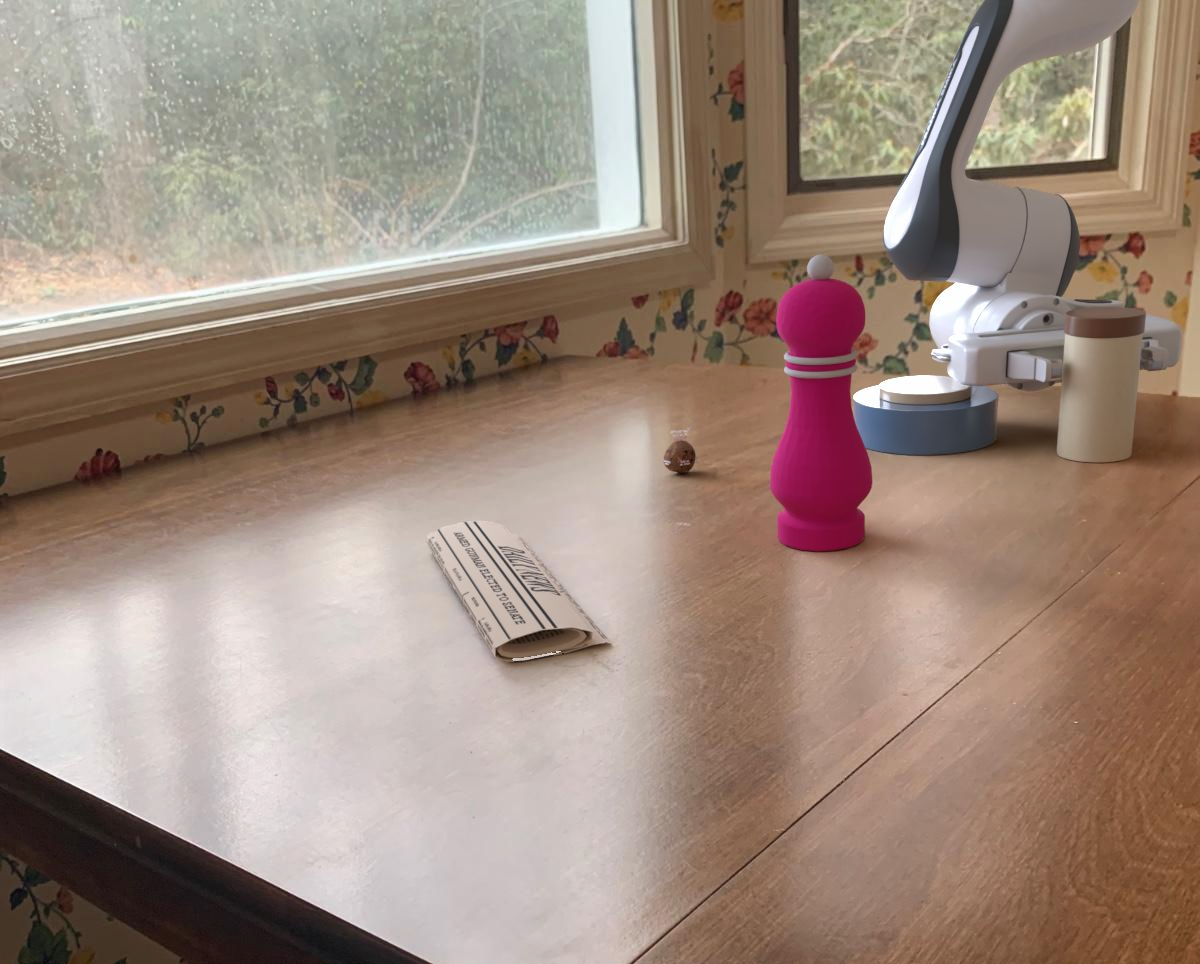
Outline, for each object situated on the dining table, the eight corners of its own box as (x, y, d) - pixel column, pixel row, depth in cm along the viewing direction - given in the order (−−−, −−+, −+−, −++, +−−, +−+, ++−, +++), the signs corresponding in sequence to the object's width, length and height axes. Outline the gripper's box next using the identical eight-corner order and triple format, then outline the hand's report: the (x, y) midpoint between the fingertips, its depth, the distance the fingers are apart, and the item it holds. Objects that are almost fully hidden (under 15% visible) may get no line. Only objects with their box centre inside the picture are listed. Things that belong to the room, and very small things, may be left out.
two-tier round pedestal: (960, 416, 120) (962, 366, 118) (1021, 446, 108) (1024, 391, 106) (834, 429, 119) (834, 378, 117) (881, 461, 107) (882, 405, 105)
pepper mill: (826, 561, 84) (826, 262, 76) (750, 540, 89) (743, 259, 82) (892, 535, 88) (898, 250, 80) (816, 516, 93) (815, 247, 86)
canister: (1108, 442, 108) (1120, 304, 103) (1147, 458, 102) (1161, 314, 98) (1042, 449, 107) (1051, 311, 103) (1077, 466, 101) (1089, 320, 97)
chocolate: (668, 479, 106) (666, 434, 104) (661, 472, 108) (659, 428, 106) (701, 474, 106) (699, 430, 105) (693, 468, 108) (692, 425, 107)
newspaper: (427, 550, 92) (424, 527, 91) (517, 535, 93) (515, 513, 93) (495, 666, 70) (492, 638, 70) (611, 645, 72) (609, 617, 72)
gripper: (924, 317, 112) (990, 339, 99) (1132, 298, 114) (1223, 317, 101) (922, 385, 114) (987, 415, 101) (1126, 365, 116) (1215, 391, 103)
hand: (1107, 366), depth 101 cm, fingers open, 8 cm apart
